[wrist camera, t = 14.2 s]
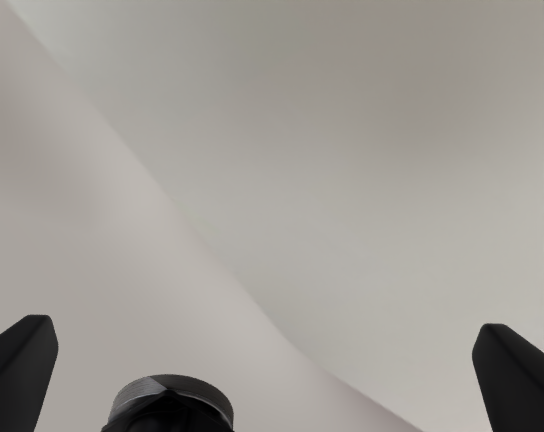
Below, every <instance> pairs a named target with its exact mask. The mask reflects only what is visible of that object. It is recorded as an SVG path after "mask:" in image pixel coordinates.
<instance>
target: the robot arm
mask: <svg viewBox="0 0 544 432" xmlns="http://www.w3.org/2000/svg"><path fill="white" fill-rule="evenodd" d="M57 354H58V341H57V337H56V334H55V330H54V326H53V323H52V320H51V318H50V317H49V316H48V315H27V316H25V317H24V318H23V319H21V320H20V321H18V322H17V323H15V324H14V325H13V326H11V327H10V328H8V329H7V330H6V331H4V332H3V333H1V334H0V432H34V429H35V427H36V424H37V421H38V418H39V415H40V411H41V408H42V405H43V401H44V398H45V395H46V391H47V388H48V385H49V381H50V378H51V375H52V371H53V368H54V365H55V361H56V358H57ZM472 361H473V365H474V368H475V372H476V375H477V379H478V382H479V386H480V389H481V393H482V396H483V400H484V404H485V407H486V411H487V414H488V418H489V421H490V424H491V427H492V430H493V432H544V353H543V352H542V351H540V350H539V349H538V348H536V347H535V346H534V345H532V344H531V343H530V342H528V341H527V340H526V339H524V338H523V337H521V336H520V335H519V334H517V333H516V332H515V331H513V330H512V329H511V328H509V327H508V326H506V325H504V324H493V323H487V324H484V325H483V326H482V327H481V329H480V332H479V335H478V337H477V340H476V342H475V345H474V348H473V351H472ZM101 432H234V431H233V430H231V429H230V428H228V427H227V426H226V425H224V424H223V423H221V422H220V421H218V420H217V419H215V418H214V417H212V416H211V415H209V414H208V413H206V412H205V411H203V410H202V409H200V408H199V407H197V406H196V405H194V404H193V403H191V402H190V401H188V400H187V399H185V398H184V397H182V396H181V395H179V394H178V393H176V392H175V391H173V390H164V391H162V392H160V393H159V394H157V395H155V396H154V397H152V398H150V399H149V400H147V401H145V402H144V403H142V404H140V405H139V406H137V407H135V408H134V409H132V410H130V411H129V412H127V413H125V414H124V415H122V416H120V417H119V418H117V419H115V420H114V421H112V422H110V423H109V424H107V425H105V426H104V427H103V428H102V430H101Z"/></svg>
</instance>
